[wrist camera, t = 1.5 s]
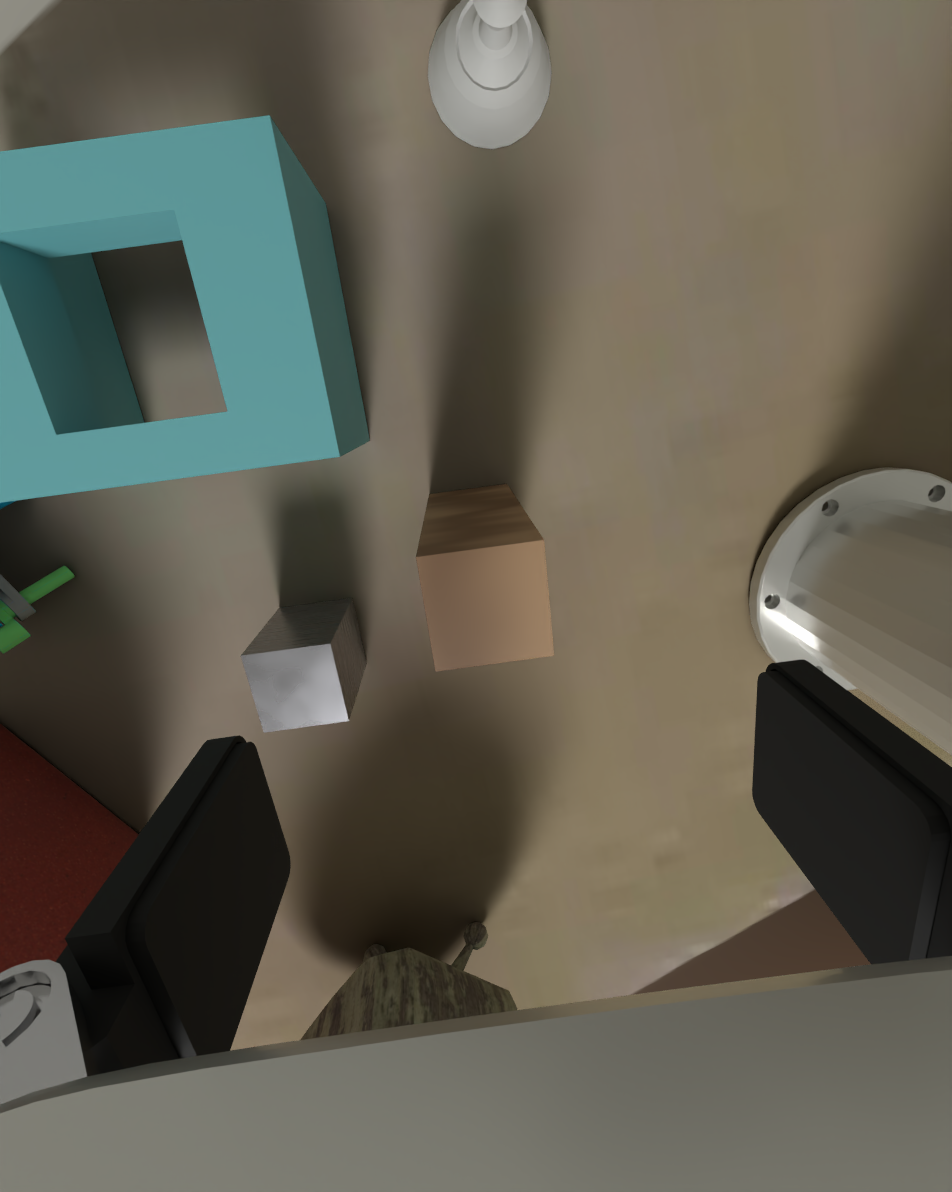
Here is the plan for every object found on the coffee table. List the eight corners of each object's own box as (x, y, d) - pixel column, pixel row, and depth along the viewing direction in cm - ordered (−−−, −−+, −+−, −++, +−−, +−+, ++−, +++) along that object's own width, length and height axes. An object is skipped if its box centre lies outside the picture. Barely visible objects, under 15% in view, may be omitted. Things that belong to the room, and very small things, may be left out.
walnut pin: (506, 483, 29) (543, 539, 17) (514, 558, 30) (554, 655, 19) (429, 494, 29) (415, 557, 17) (440, 568, 30) (435, 671, 19)
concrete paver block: (352, 597, 30) (330, 643, 25) (366, 663, 32) (348, 720, 26) (279, 607, 30) (240, 655, 25) (296, 672, 32) (263, 732, 26)
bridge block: (325, 203, 24) (269, 115, 17) (369, 440, 27) (339, 456, 20) (28, 243, 24) (-163, 174, 17) (109, 475, 27) (-20, 505, 20)
